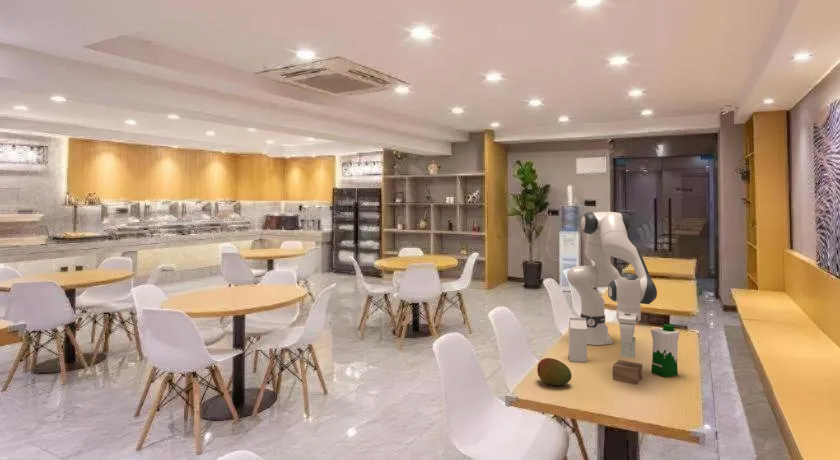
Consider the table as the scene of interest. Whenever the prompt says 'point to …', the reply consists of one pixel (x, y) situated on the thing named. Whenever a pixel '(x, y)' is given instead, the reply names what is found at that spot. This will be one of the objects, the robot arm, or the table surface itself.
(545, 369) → the fruit
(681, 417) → the table surface
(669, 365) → the soya milk
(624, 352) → the grey wooden block
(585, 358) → the milk carton
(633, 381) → the walnut block
